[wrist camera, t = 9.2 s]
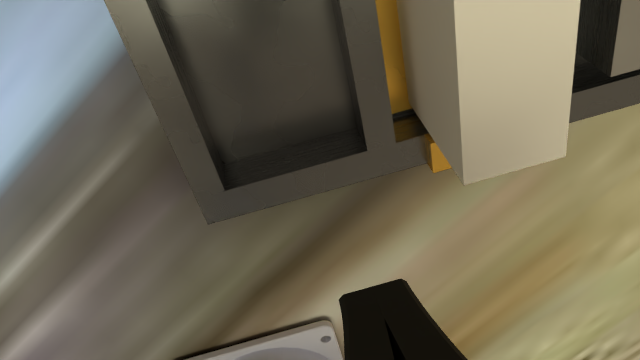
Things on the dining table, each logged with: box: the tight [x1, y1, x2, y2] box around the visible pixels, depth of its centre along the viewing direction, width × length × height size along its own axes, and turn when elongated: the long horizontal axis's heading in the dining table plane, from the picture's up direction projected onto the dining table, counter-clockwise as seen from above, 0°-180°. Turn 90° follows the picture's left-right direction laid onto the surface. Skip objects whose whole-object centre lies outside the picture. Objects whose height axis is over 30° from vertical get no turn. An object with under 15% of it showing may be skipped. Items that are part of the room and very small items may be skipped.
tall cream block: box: [396, 0, 580, 185], centre depth 15 cm, size 8×3×5 cm, turn 12°
